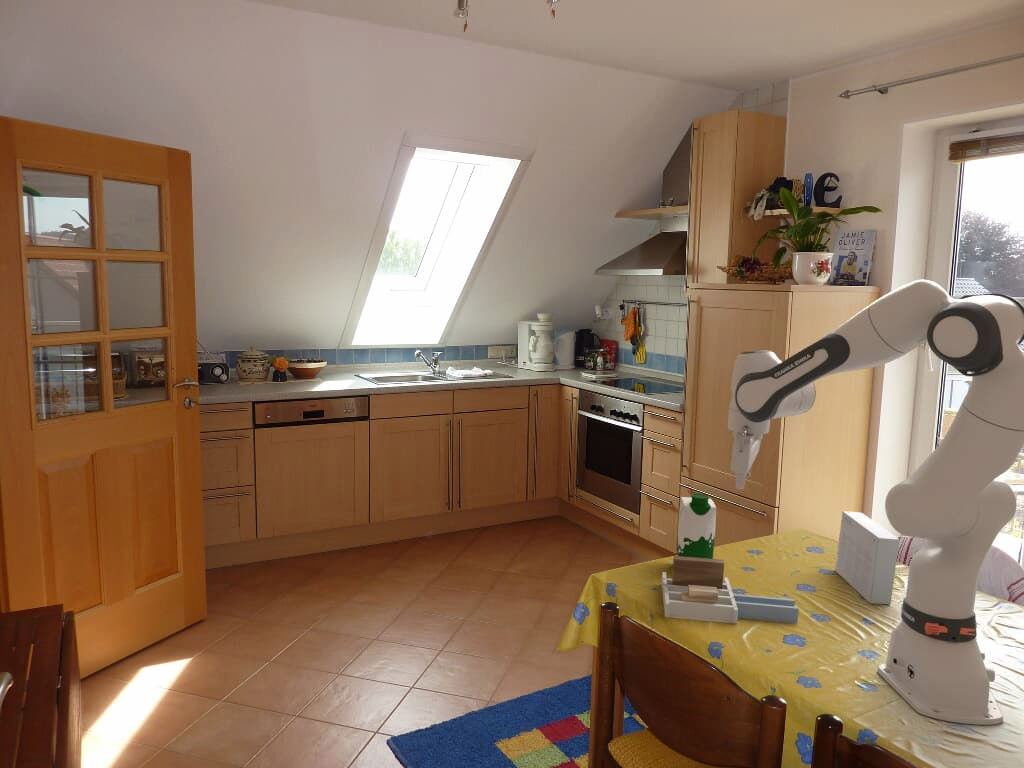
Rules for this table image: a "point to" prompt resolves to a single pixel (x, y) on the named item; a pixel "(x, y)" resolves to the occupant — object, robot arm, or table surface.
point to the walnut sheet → (697, 572)
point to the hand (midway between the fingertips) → (742, 483)
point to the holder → (766, 608)
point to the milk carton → (696, 527)
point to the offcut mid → (686, 598)
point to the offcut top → (703, 592)
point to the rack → (699, 604)
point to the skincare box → (867, 557)
